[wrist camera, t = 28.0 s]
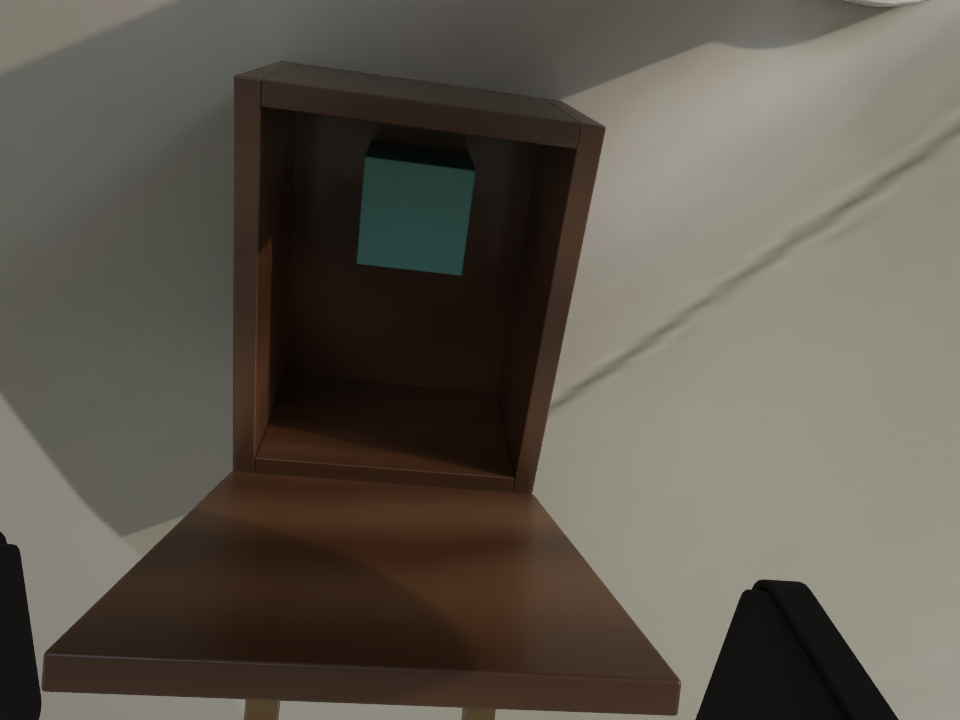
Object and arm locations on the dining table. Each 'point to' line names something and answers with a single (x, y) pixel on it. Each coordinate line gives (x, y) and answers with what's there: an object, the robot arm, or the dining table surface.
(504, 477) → the chest
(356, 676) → the chest lid
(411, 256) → the block
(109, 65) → the dining table surface
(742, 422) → the dining table surface
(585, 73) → the dining table surface
